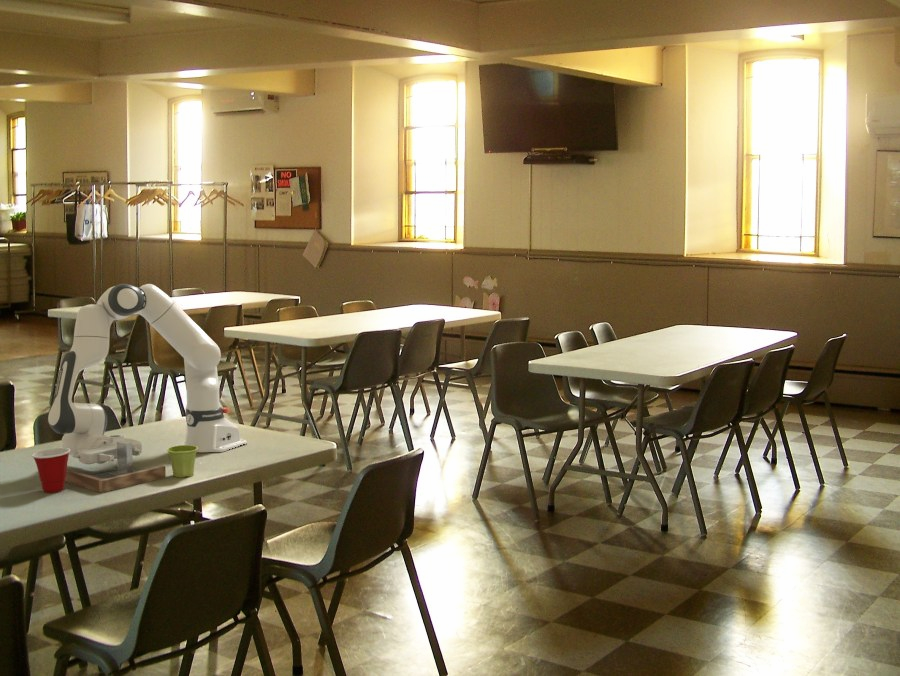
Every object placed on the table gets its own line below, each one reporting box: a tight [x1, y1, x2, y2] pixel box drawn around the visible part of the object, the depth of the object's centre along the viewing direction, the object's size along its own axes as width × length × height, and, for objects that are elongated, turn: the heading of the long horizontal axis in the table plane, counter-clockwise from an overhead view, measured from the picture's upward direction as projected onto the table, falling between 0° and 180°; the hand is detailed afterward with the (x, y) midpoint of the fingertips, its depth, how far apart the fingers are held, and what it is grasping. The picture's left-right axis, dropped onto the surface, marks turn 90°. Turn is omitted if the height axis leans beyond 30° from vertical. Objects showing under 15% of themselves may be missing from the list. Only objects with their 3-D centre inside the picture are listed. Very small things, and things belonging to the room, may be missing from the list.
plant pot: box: [166, 444, 198, 479], centre depth 338 cm, size 9×9×9 cm
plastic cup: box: [31, 447, 70, 494], centre depth 320 cm, size 11×11×12 cm
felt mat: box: [92, 468, 141, 479], centre depth 334 cm, size 20×16×1 cm
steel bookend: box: [109, 441, 134, 478], centre depth 333 cm, size 5×5×11 cm
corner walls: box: [65, 465, 167, 493], centre depth 332 cm, size 23×19×4 cm
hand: (125, 455), depth 333 cm, fingers open, 8 cm apart
